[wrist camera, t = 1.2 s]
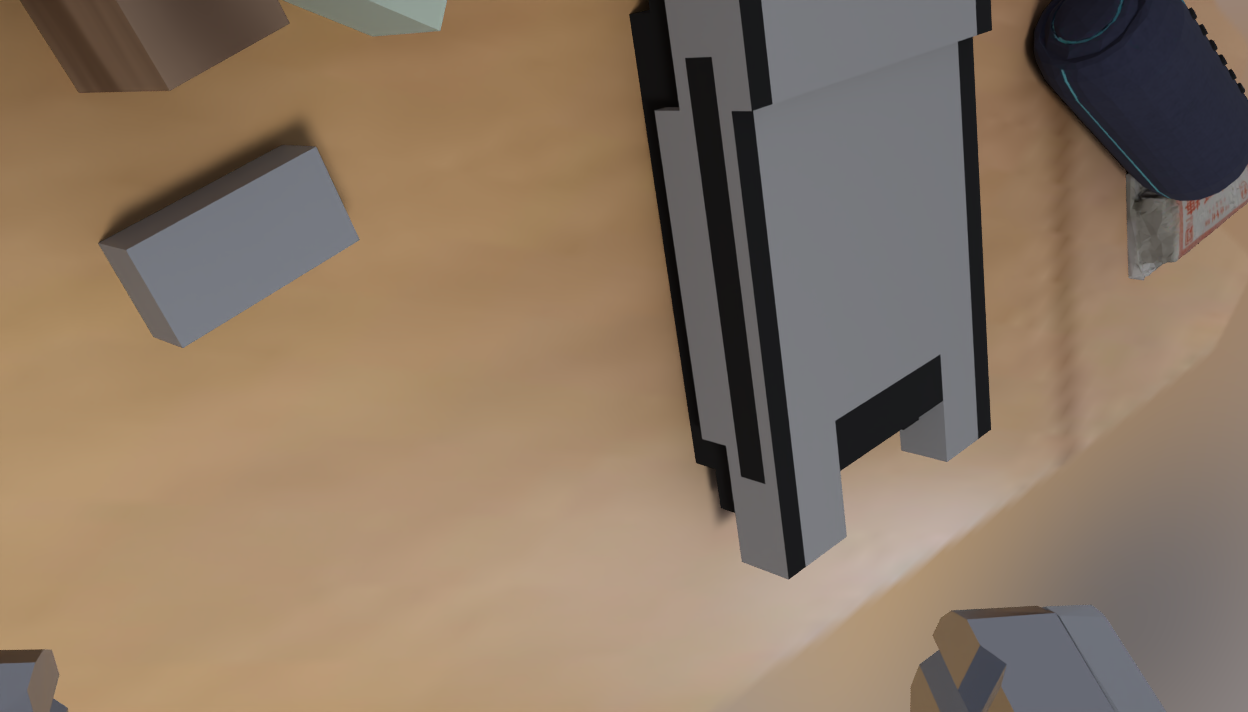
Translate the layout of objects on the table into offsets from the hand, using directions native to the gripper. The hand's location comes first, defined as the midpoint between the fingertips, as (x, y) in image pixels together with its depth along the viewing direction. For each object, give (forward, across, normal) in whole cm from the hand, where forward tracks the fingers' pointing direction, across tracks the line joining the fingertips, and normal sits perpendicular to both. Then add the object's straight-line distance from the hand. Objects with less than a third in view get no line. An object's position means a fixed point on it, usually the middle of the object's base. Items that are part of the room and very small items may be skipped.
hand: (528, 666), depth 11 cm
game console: (+49, -21, +24) cm, 58 cm away
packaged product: (+75, -68, +34) cm, 107 cm away
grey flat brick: (+33, +8, +16) cm, 37 cm away
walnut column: (+34, +11, +7) cm, 37 cm away
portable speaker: (+70, -53, +22) cm, 91 cm away
